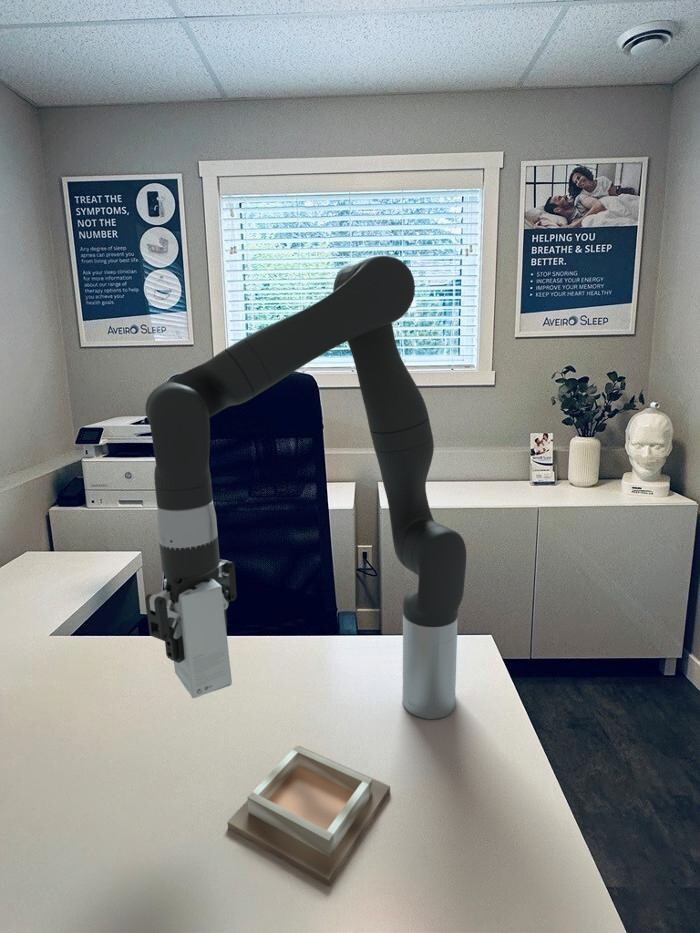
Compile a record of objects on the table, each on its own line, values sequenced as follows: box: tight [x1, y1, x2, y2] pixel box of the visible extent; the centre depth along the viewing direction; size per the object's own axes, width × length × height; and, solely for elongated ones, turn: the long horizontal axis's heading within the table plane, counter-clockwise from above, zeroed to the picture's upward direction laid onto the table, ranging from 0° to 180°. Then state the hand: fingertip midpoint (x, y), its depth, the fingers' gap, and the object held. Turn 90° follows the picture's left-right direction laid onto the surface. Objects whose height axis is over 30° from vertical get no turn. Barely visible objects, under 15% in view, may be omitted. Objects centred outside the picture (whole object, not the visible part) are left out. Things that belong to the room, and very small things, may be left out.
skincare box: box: [163, 578, 233, 699], centre depth 76 cm, size 8×6×15 cm
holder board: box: [227, 745, 391, 887], centre depth 75 cm, size 16×16×4 cm
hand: (199, 645), depth 77 cm, fingers closed on skincare box, 7 cm apart
